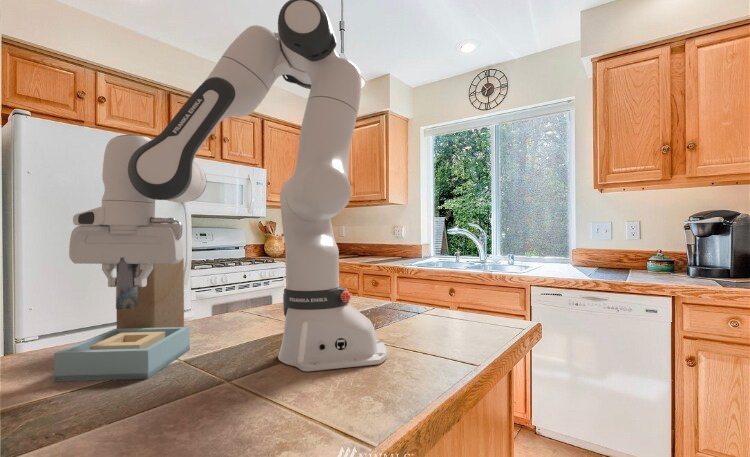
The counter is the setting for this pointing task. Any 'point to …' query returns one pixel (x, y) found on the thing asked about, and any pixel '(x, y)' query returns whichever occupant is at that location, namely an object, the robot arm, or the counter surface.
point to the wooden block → (157, 300)
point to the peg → (126, 285)
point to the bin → (122, 354)
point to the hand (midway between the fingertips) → (127, 286)
